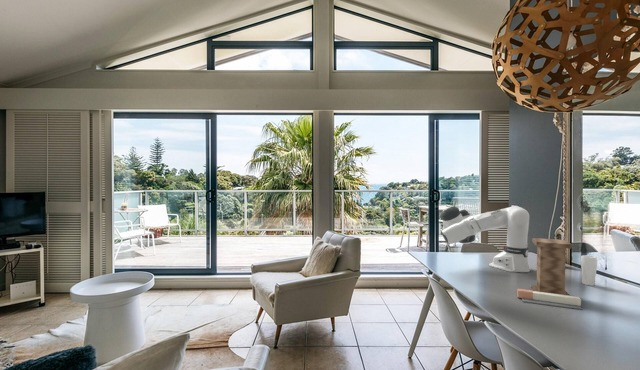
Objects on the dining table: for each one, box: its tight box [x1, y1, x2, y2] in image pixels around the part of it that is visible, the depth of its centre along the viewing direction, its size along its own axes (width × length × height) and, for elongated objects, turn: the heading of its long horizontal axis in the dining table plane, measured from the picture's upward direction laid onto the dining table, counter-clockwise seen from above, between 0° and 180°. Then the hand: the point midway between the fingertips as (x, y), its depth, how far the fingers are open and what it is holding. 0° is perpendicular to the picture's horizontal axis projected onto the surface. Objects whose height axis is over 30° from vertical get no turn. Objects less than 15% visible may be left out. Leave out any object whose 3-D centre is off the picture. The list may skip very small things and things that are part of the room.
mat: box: [520, 298, 583, 311], centre depth 153 cm, size 22×11×1 cm, turn 66°
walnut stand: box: [530, 237, 573, 296], centre depth 164 cm, size 14×12×26 cm
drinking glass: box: [580, 254, 598, 287], centre depth 178 cm, size 7×7×15 cm
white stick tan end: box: [516, 288, 582, 307], centre depth 153 cm, size 24×3×3 cm, turn 64°
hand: (501, 211), depth 160 cm, fingers open, 8 cm apart
